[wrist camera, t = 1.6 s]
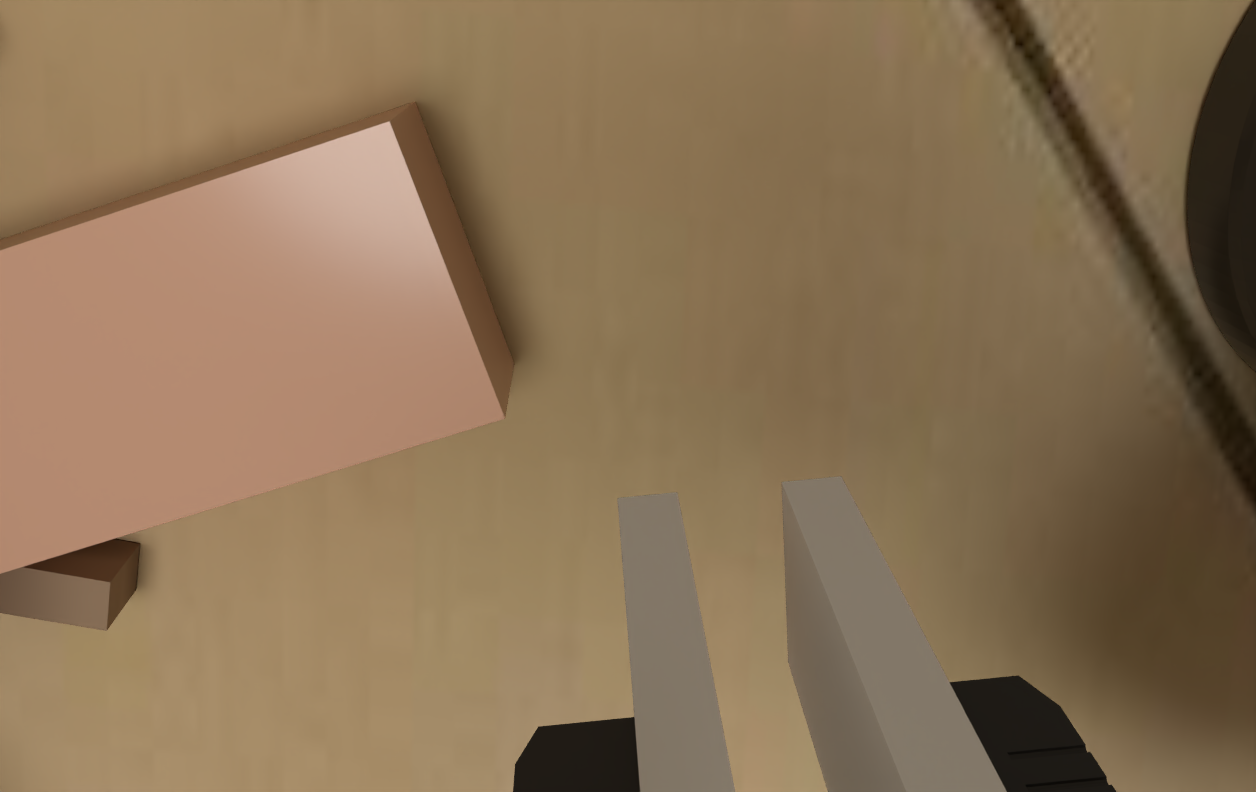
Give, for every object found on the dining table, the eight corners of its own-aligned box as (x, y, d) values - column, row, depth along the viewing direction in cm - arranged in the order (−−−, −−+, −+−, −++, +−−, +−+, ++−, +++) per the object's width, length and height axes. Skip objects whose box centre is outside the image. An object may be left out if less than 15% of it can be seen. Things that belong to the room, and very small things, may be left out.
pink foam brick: (417, 100, 26) (389, 121, 22) (515, 359, 28) (504, 418, 24) (-108, 274, 27) (-220, 323, 23) (32, 510, 29) (-48, 588, 26)
